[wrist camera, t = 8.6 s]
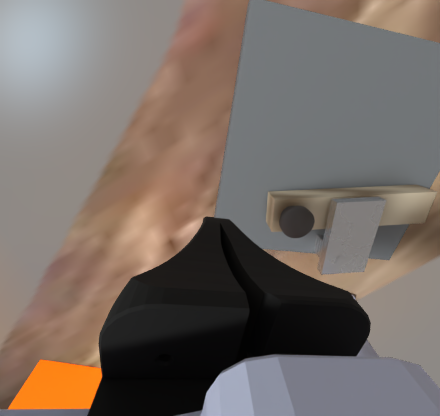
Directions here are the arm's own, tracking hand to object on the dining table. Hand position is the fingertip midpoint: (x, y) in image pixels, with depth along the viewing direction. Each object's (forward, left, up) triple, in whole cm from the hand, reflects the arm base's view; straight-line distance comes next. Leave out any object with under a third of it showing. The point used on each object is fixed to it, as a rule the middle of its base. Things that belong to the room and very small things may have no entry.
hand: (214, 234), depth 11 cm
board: (+3, -11, -9) cm, 15 cm away
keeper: (-2, -12, -8) cm, 15 cm away
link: (0, -12, -8) cm, 15 cm away
